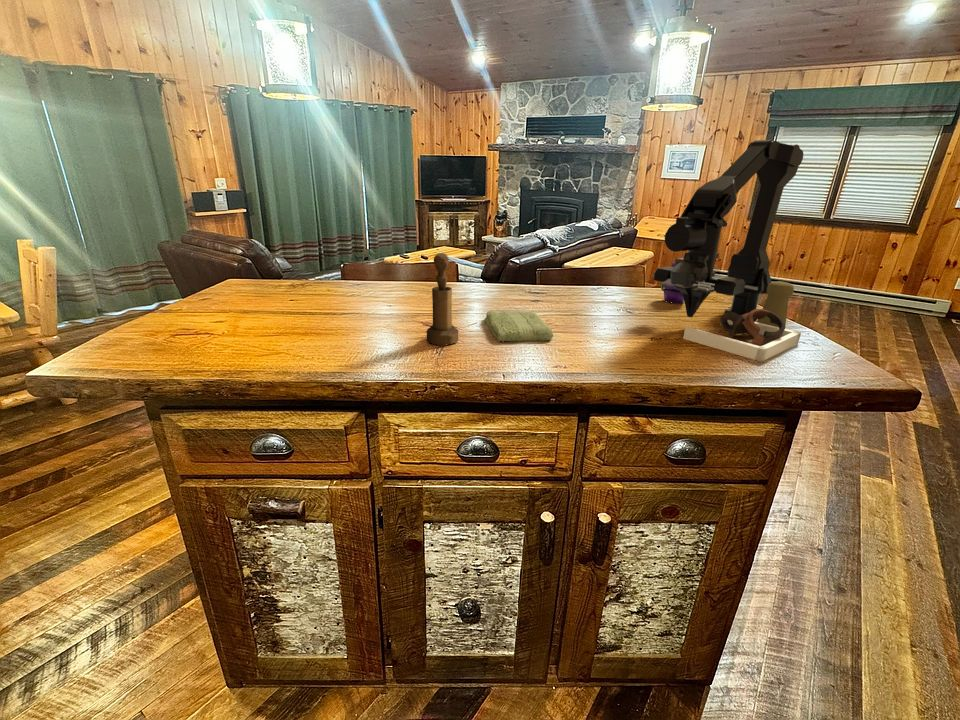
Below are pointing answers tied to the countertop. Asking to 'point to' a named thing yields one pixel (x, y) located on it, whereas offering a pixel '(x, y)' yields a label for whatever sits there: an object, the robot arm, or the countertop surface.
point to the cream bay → (745, 348)
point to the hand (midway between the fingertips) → (689, 316)
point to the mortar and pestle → (442, 307)
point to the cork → (777, 301)
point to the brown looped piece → (753, 325)
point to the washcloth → (518, 326)
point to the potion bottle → (672, 288)
